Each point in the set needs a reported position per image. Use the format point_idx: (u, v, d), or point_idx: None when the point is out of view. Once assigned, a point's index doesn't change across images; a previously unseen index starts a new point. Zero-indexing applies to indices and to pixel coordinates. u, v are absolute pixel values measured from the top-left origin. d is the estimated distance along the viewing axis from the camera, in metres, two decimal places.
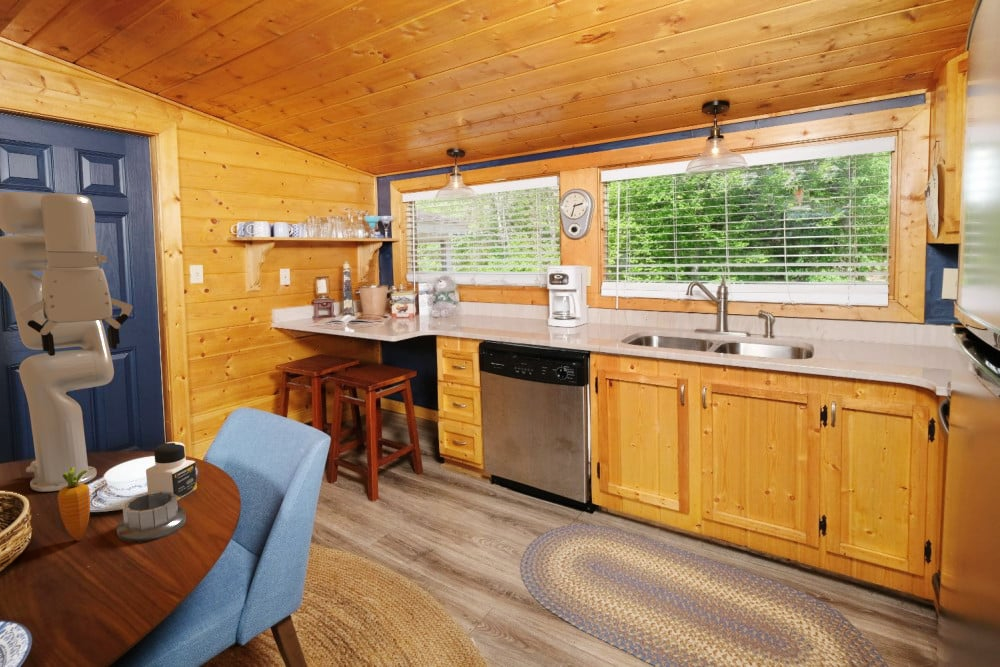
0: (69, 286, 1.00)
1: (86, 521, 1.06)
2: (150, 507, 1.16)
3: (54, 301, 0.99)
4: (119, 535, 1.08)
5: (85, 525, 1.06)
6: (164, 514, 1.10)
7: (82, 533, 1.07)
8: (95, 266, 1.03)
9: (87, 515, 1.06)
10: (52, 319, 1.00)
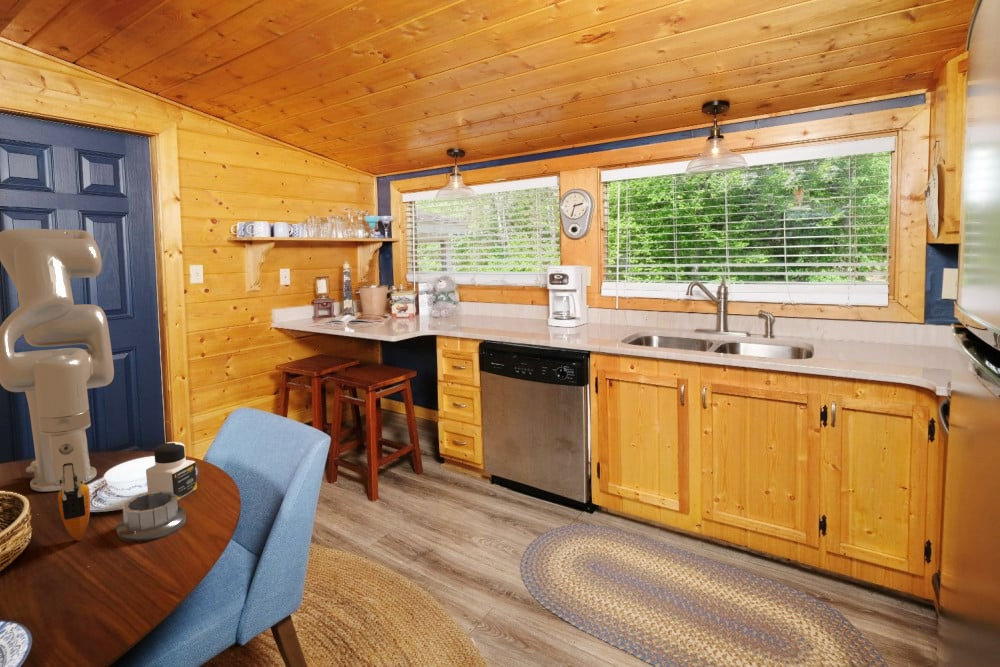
0: None
1: (86, 521, 1.06)
2: (150, 507, 1.16)
3: None
4: (119, 535, 1.08)
5: (85, 525, 1.06)
6: (164, 514, 1.10)
7: (82, 533, 1.07)
8: (48, 432, 1.00)
9: (87, 515, 1.06)
10: None
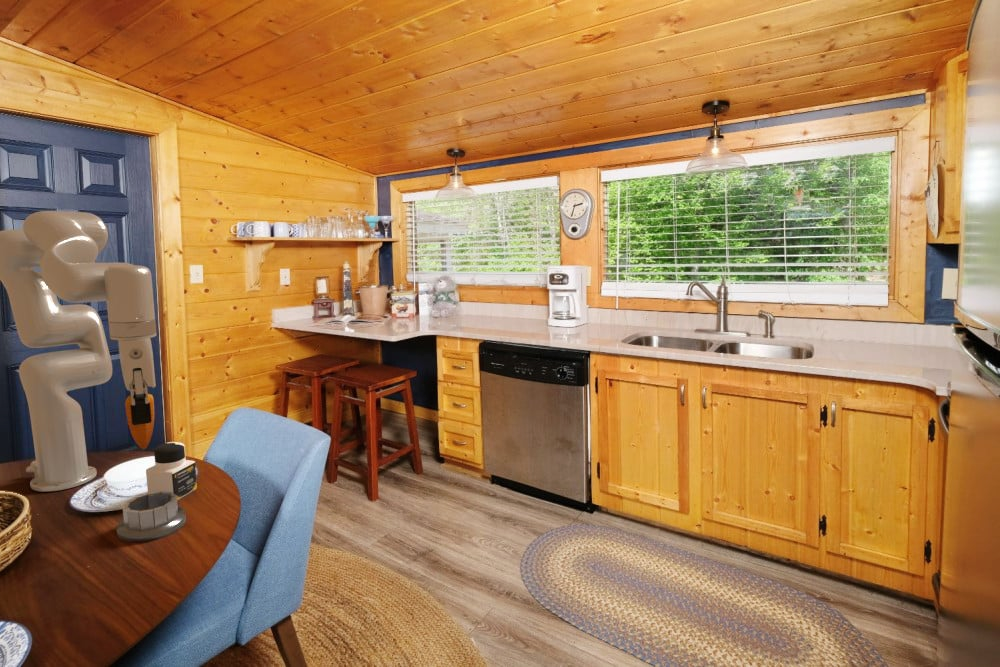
0: None
1: (151, 430, 1.09)
2: (150, 507, 1.16)
3: None
4: (119, 535, 1.08)
5: (150, 433, 1.09)
6: (164, 514, 1.10)
7: (147, 441, 1.09)
8: (118, 337, 1.02)
9: (152, 424, 1.09)
10: None
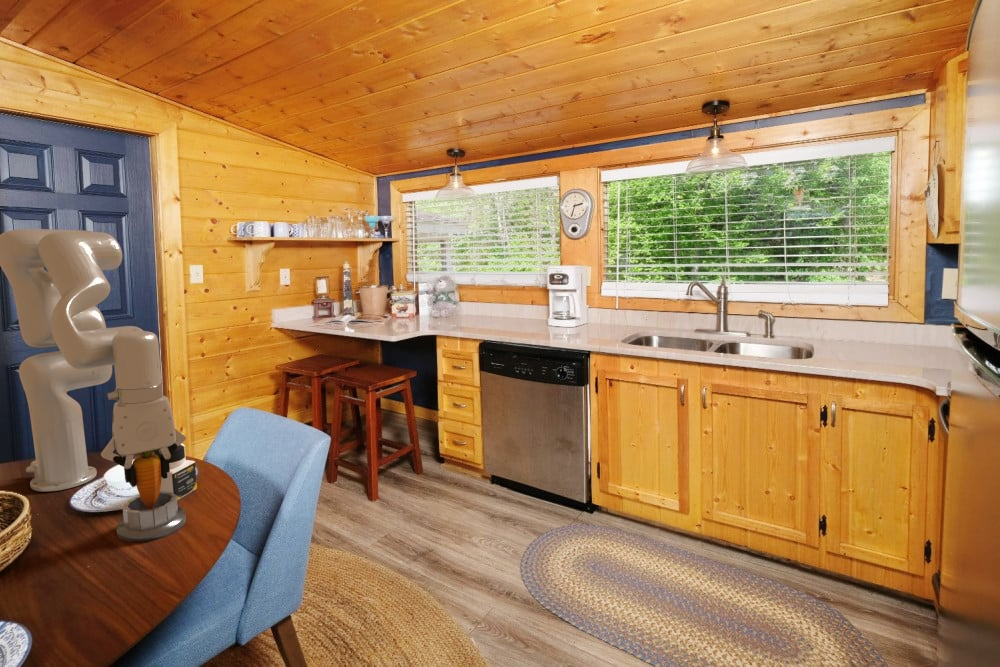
0: None
1: (144, 494, 1.10)
2: None
3: None
4: (119, 535, 1.08)
5: (145, 497, 1.10)
6: (164, 514, 1.10)
7: (146, 503, 1.11)
8: None
9: (144, 489, 1.09)
10: None
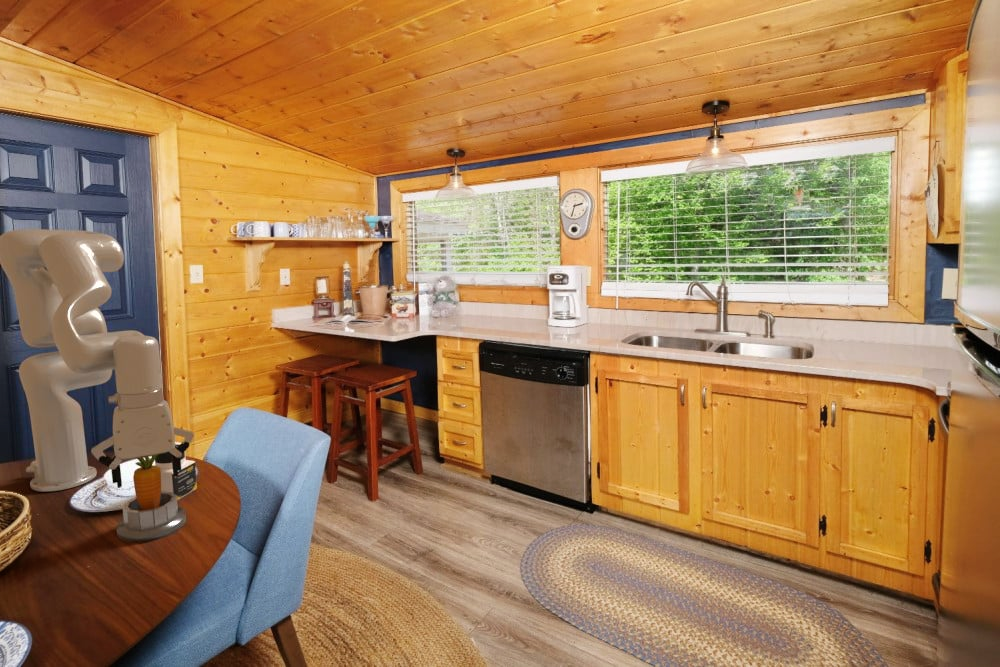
0: None
1: (143, 505, 1.10)
2: None
3: None
4: (119, 535, 1.08)
5: (144, 508, 1.11)
6: (164, 514, 1.10)
7: None
8: None
9: (143, 500, 1.10)
10: None
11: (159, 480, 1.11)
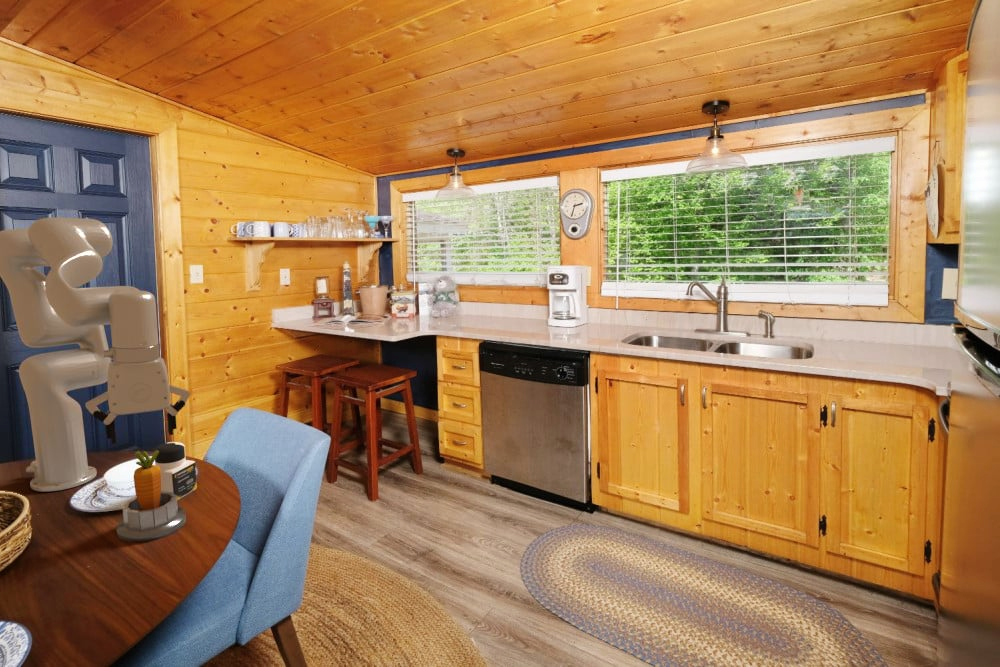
0: None
1: (143, 504, 1.10)
2: None
3: None
4: (119, 535, 1.08)
5: (144, 508, 1.11)
6: (164, 514, 1.10)
7: None
8: None
9: (143, 499, 1.10)
10: None
11: (159, 480, 1.11)
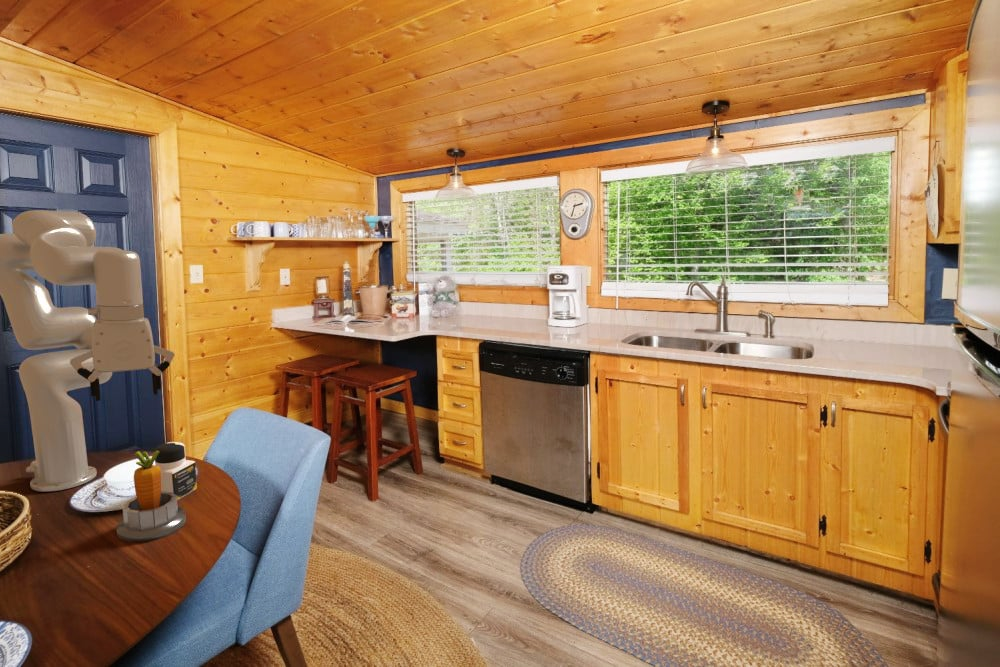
0: None
1: (143, 505, 1.10)
2: None
3: None
4: (119, 535, 1.08)
5: (144, 508, 1.11)
6: (164, 514, 1.10)
7: None
8: None
9: (143, 500, 1.10)
10: None
11: (159, 480, 1.11)
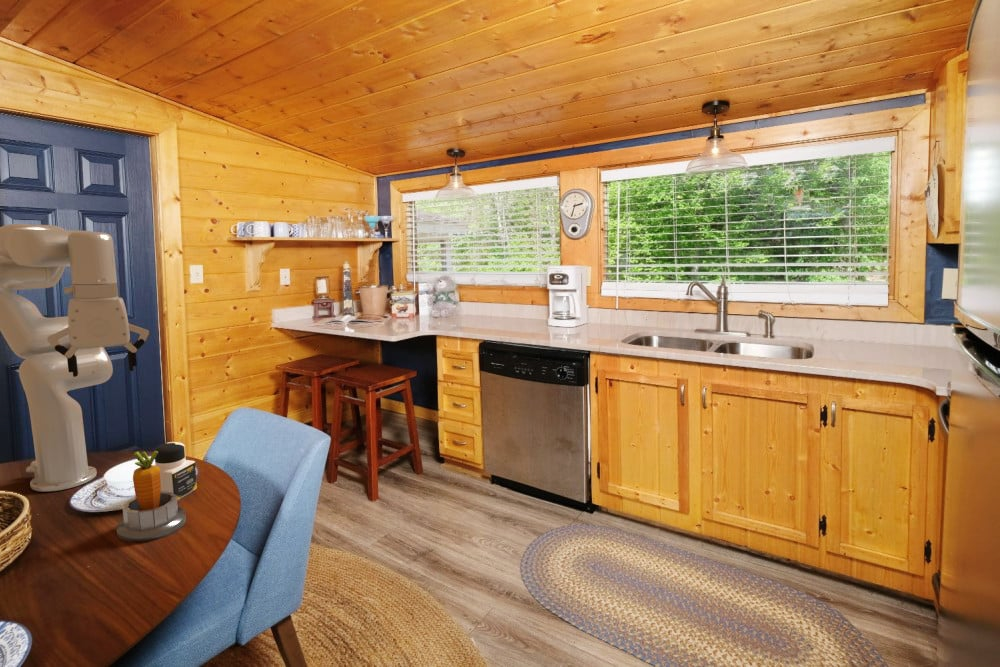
0: None
1: (143, 505, 1.10)
2: None
3: None
4: (119, 535, 1.08)
5: (143, 508, 1.11)
6: (164, 514, 1.10)
7: None
8: None
9: (142, 500, 1.10)
10: None
11: (159, 480, 1.11)
